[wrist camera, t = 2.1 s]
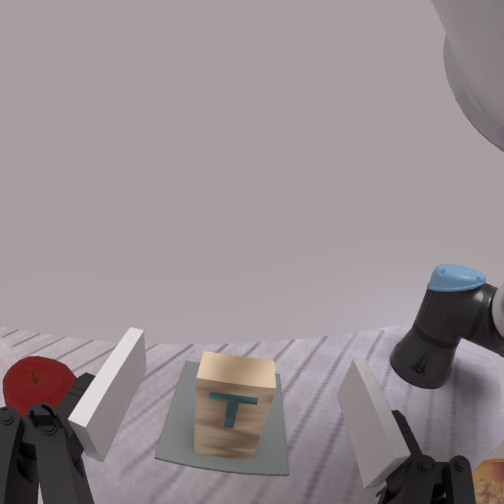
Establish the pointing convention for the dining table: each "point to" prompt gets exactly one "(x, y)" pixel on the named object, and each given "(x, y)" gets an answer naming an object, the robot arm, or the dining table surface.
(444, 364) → the robot arm
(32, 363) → the apple
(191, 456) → the mat
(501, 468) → the coffeecake box
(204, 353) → the letter block
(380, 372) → the dining table surface
